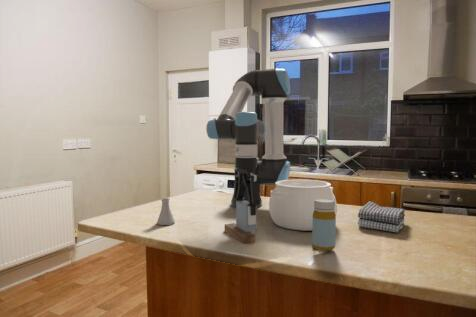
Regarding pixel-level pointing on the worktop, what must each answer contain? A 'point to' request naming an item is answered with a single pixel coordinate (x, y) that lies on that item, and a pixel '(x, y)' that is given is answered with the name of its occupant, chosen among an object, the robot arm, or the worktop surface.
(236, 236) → the block
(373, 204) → the towel
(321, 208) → the bottle
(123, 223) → the worktop surface
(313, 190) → the pot
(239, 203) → the slab
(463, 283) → the worktop surface
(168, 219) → the flask
